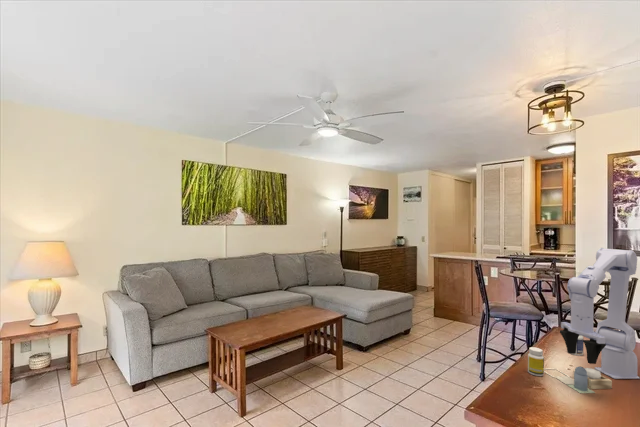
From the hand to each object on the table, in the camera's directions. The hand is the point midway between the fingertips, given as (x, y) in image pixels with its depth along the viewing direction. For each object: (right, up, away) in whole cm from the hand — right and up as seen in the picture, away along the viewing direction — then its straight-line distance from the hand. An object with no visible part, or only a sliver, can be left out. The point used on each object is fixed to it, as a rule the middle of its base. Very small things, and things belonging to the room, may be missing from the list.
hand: (581, 358), depth 107 cm
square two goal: (0, -10, 0) cm, 10 cm away
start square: (-1, -10, +11) cm, 15 cm away
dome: (+7, -9, +4) cm, 12 cm away
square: (-1, -10, +5) cm, 11 cm away
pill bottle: (+20, -11, +29) cm, 37 cm away
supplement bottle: (-8, -10, +10) cm, 16 cm away
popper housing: (+7, -10, +4) cm, 13 cm away
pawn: (0, -10, 0) cm, 10 cm away
